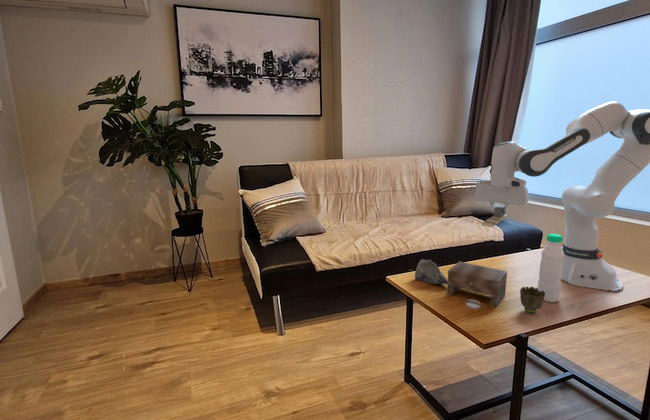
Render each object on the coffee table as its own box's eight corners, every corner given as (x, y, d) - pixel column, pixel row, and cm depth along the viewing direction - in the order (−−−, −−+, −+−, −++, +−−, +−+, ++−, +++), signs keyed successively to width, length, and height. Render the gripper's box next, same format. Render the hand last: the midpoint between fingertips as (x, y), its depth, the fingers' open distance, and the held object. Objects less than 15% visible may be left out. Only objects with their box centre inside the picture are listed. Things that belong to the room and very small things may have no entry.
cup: (513, 309, 123) (515, 288, 121) (528, 305, 125) (530, 284, 124) (531, 319, 116) (534, 297, 114) (547, 314, 118) (550, 293, 117)
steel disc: (483, 306, 125) (483, 303, 125) (475, 311, 123) (475, 307, 122) (470, 301, 129) (470, 298, 129) (462, 305, 126) (463, 302, 126)
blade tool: (496, 215, 152) (497, 204, 151) (506, 217, 150) (507, 205, 149) (481, 225, 136) (482, 213, 135) (492, 227, 133) (493, 214, 132)
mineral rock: (449, 288, 141) (450, 265, 139) (424, 290, 139) (425, 266, 137) (435, 276, 153) (436, 254, 151) (412, 277, 152) (413, 256, 150)
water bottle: (533, 298, 131) (540, 234, 125) (541, 292, 135) (548, 231, 129) (554, 305, 125) (562, 238, 120) (561, 299, 129) (570, 235, 124)
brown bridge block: (504, 295, 133) (507, 271, 131) (495, 308, 123) (497, 282, 121) (458, 284, 144) (459, 261, 142) (446, 294, 135) (447, 270, 133)
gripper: (473, 180, 149) (471, 211, 152) (527, 183, 136) (524, 217, 138) (478, 179, 153) (476, 209, 156) (530, 181, 140) (527, 214, 143)
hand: (499, 213), depth 147 cm, fingers closed on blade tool, 2 cm apart
